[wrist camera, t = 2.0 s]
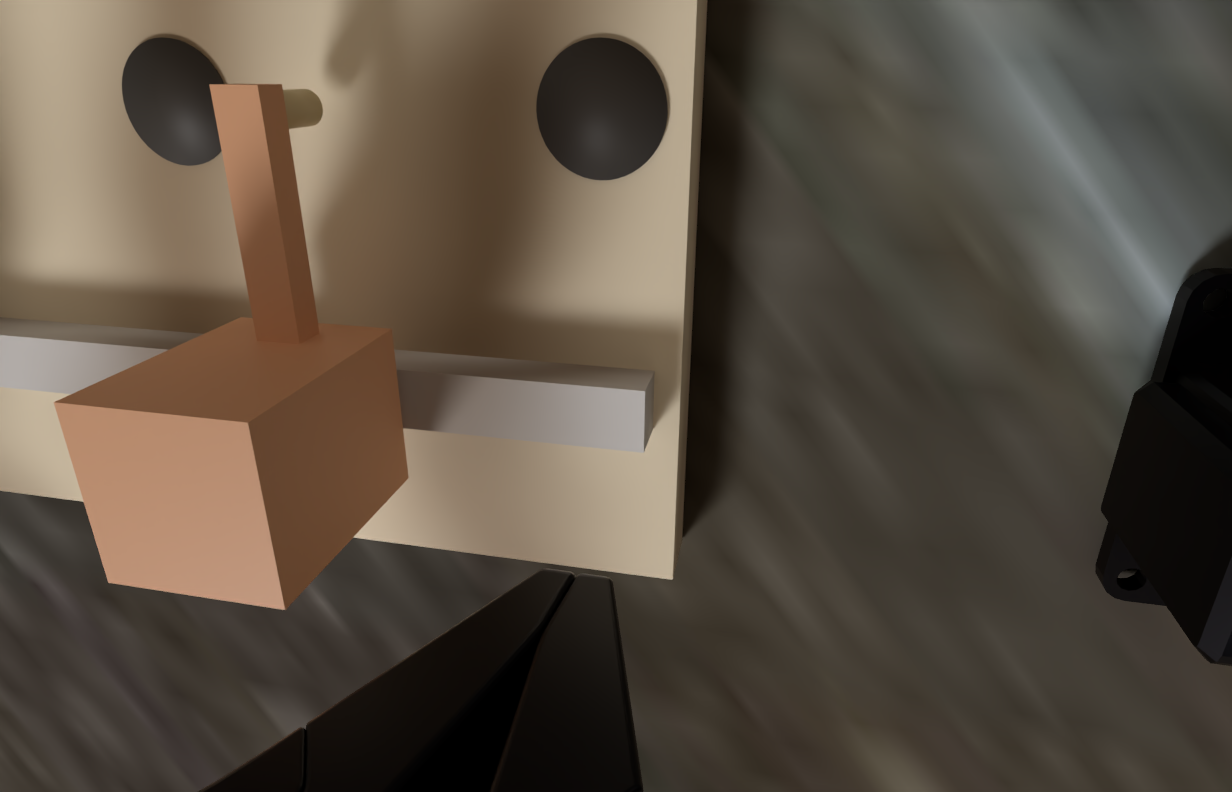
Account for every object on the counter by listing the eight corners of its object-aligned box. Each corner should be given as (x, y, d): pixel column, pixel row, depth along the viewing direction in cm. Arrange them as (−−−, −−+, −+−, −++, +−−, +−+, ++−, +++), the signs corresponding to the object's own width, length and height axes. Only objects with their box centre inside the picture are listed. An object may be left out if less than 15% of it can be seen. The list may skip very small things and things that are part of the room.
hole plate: (707, -13, 13) (637, -74, 7) (682, 539, 17) (624, 780, 12) (-177, -2, 17) (-702, -38, 11) (-16, 454, 21) (-329, 604, 15)
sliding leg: (385, 83, 13) (182, 92, 9) (424, 461, 15) (285, 609, 11) (224, 81, 13) (-43, 88, 9) (289, 446, 16) (108, 583, 12)
